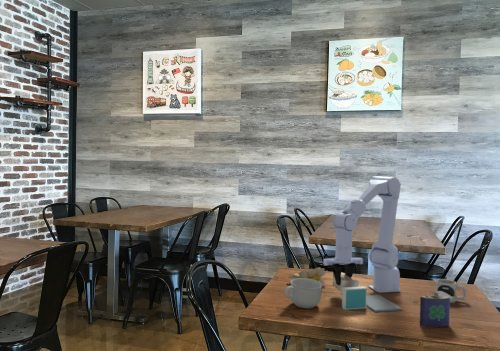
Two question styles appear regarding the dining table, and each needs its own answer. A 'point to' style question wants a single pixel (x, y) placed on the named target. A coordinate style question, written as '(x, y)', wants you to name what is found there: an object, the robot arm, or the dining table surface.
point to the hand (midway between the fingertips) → (342, 284)
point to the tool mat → (380, 304)
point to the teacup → (304, 292)
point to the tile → (354, 297)
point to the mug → (449, 289)
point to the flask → (434, 310)
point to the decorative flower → (311, 274)
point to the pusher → (345, 282)
